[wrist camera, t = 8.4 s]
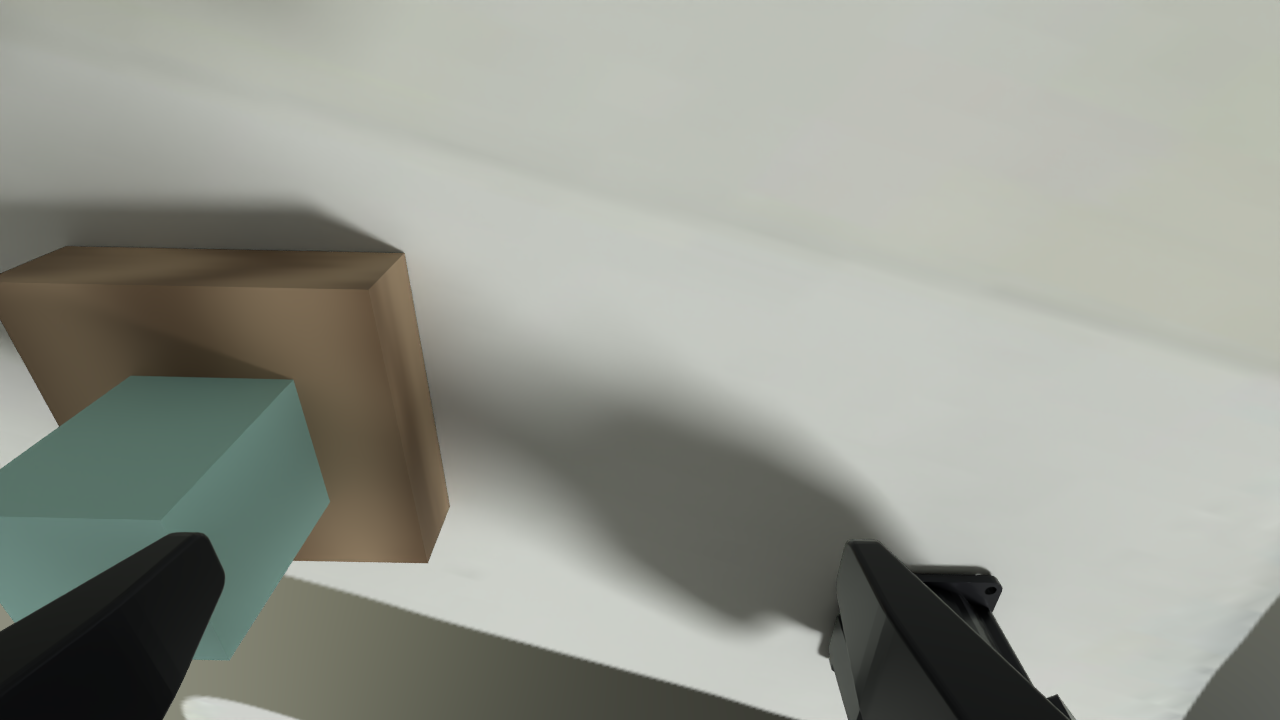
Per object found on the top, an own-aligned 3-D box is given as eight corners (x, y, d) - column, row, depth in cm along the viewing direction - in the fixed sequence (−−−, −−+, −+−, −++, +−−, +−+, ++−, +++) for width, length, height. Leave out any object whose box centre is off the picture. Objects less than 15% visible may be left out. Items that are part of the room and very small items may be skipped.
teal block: (293, 379, 19) (161, 519, 14) (330, 502, 22) (228, 660, 16) (130, 375, 19) (-64, 515, 14) (185, 498, 22) (38, 656, 16)
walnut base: (404, 253, 20) (368, 289, 18) (449, 506, 26) (427, 563, 23) (65, 246, 20) (-21, 281, 18) (183, 501, 26) (131, 557, 23)
